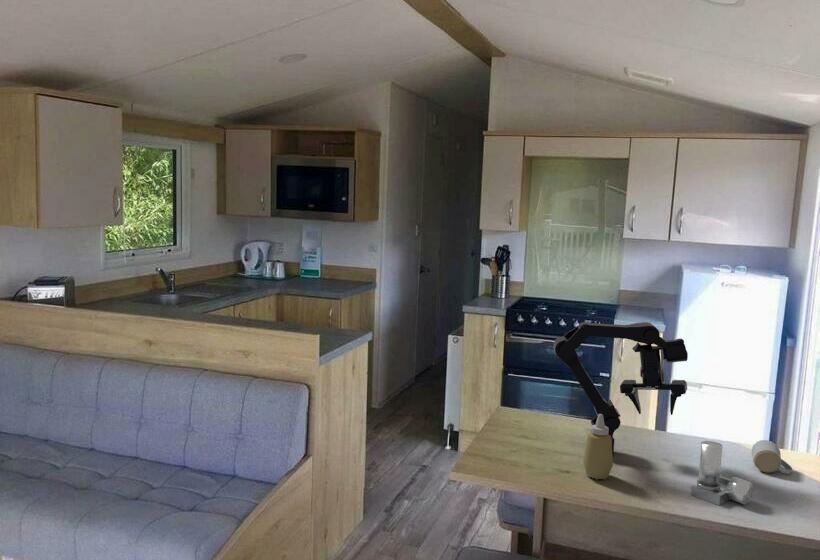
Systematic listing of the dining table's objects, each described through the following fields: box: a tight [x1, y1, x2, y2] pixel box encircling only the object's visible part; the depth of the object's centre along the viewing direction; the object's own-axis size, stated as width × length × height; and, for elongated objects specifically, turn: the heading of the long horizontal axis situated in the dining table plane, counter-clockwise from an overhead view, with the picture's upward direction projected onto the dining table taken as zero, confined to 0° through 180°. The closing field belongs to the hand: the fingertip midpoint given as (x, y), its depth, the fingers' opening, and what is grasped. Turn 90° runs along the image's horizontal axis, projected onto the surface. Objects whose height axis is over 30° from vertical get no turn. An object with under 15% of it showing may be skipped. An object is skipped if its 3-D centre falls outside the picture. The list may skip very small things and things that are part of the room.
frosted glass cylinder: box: [696, 440, 723, 493], centre depth 183 cm, size 6×6×13 cm
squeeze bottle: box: [582, 414, 614, 480], centre depth 190 cm, size 8×8×18 cm
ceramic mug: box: [751, 439, 793, 475], centre depth 198 cm, size 11×8×8 cm
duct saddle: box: [690, 475, 754, 506], centre depth 180 cm, size 12×13×6 cm
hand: (655, 414), depth 206 cm, fingers open, 9 cm apart
